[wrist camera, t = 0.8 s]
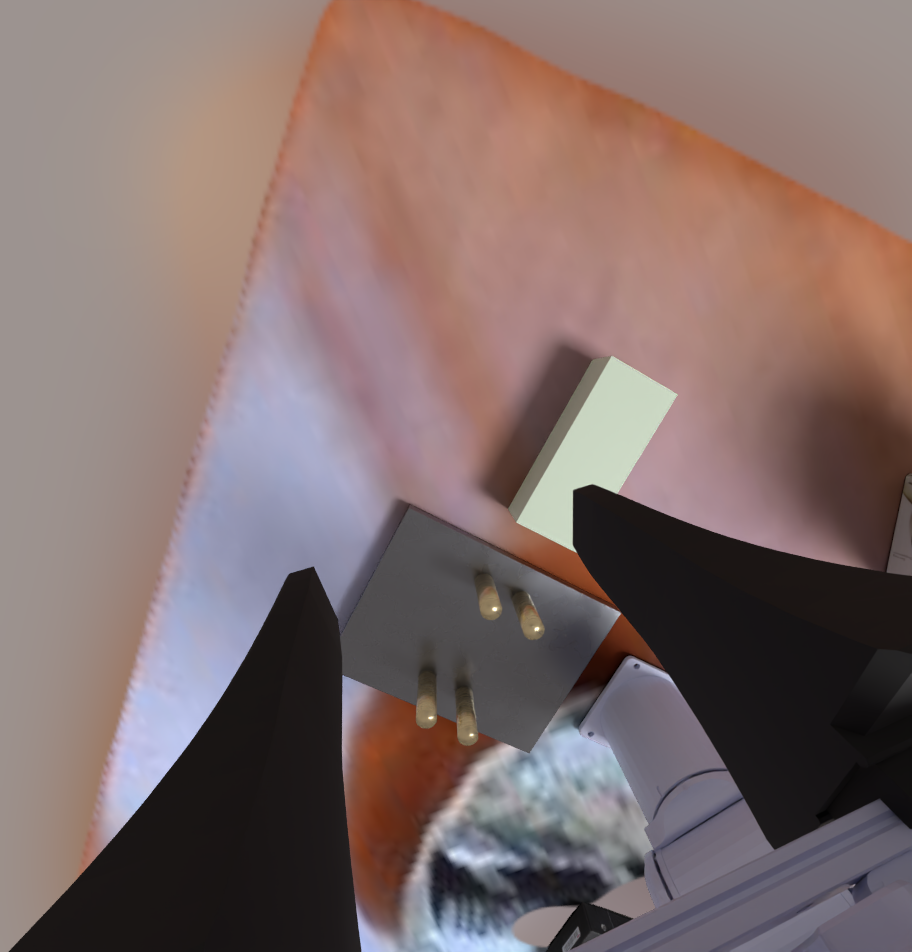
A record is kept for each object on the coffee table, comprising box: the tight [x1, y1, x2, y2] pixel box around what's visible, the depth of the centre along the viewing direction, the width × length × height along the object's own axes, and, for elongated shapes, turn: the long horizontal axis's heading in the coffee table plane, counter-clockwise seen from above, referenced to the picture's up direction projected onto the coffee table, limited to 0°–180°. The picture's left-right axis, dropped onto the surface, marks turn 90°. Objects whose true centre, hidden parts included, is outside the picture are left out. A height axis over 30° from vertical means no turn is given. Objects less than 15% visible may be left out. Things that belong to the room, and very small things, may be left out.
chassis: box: [340, 504, 621, 753], centre depth 30 cm, size 18×14×5 cm
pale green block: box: [508, 356, 678, 553], centre depth 28 cm, size 5×12×4 cm, turn 152°
